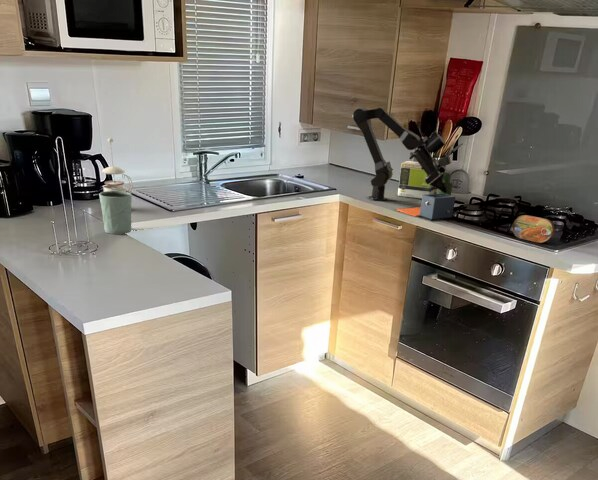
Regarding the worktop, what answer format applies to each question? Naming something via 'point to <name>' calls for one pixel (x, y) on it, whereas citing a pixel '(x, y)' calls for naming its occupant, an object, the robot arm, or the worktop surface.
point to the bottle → (446, 184)
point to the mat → (411, 211)
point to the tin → (533, 228)
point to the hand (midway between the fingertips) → (447, 190)
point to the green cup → (116, 211)
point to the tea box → (413, 181)
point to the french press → (113, 171)
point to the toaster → (437, 206)
